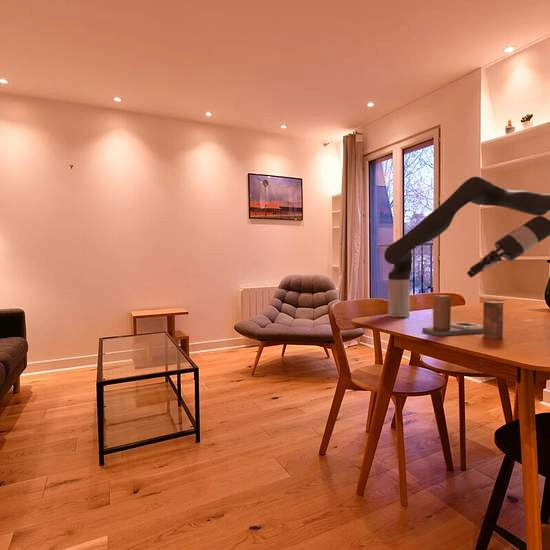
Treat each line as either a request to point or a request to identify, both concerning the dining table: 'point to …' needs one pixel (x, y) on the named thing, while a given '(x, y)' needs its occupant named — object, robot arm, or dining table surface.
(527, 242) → the robot arm
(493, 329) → the wooden post
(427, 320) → the dining table surface
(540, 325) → the dining table surface
